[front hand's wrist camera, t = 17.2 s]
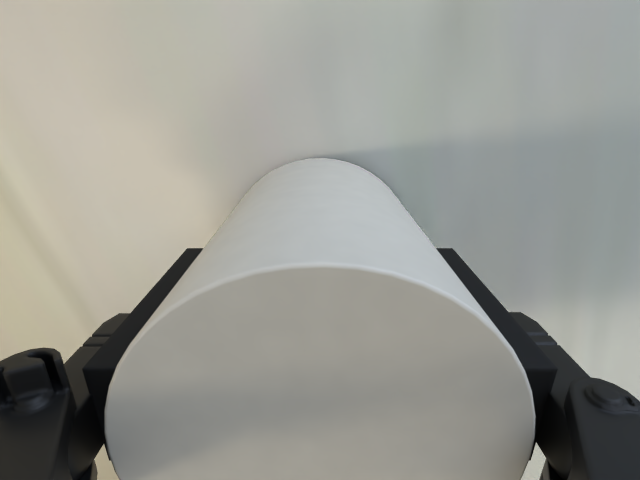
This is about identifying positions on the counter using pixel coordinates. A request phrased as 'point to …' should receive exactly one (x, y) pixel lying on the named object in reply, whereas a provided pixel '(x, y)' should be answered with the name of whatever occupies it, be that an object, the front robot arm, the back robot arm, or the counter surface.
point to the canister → (319, 351)
